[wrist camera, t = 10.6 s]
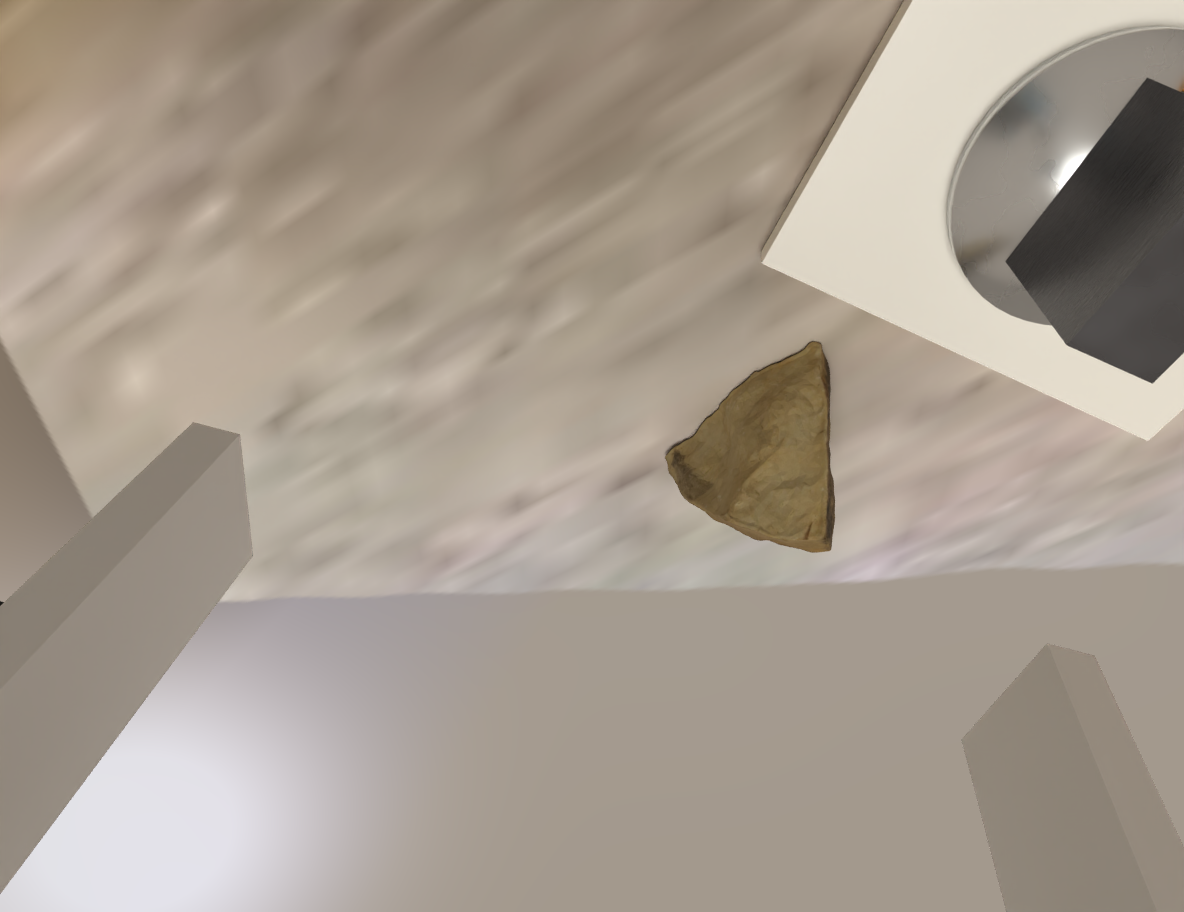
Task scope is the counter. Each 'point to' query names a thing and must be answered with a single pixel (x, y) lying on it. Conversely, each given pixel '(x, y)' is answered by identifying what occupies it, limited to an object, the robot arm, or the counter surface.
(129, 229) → the counter surface
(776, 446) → the rock
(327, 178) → the counter surface
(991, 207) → the dial
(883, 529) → the counter surface
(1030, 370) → the dial panel
